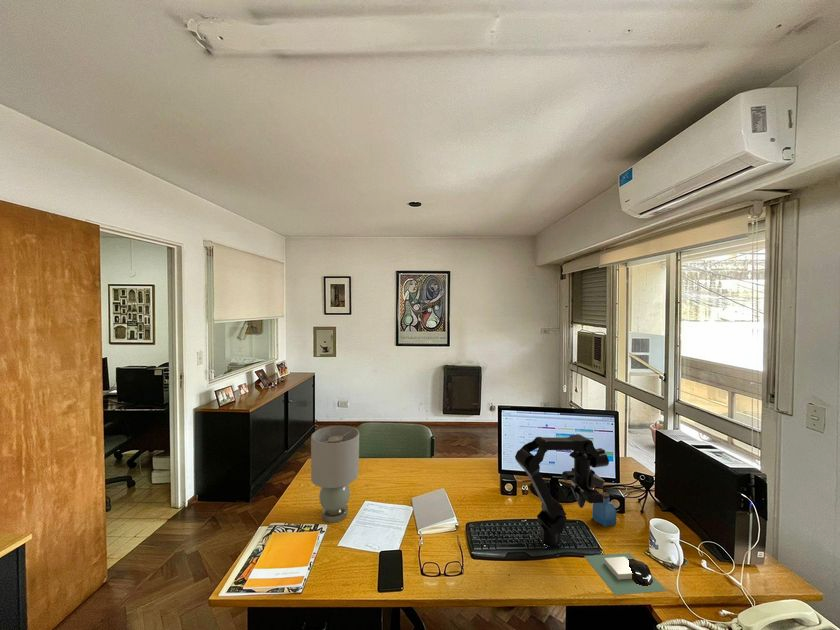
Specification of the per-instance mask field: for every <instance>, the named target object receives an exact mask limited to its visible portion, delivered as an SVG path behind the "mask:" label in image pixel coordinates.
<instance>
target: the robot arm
mask: <svg viewBox="0 0 840 630" xmlns="http://www.w3.org/2000/svg"><path fill="white" fill-rule="evenodd" d="M535 450H536V453H535V454H533V453H532V451H535ZM548 451H572V452H570V453H569V457H571V458H573V467H571V470H564V471H563V472H562V473H561V478H562V480H564V481H565V482H567V481H569V479H570V480H571V481H570V482H571V484H570V485H569V488H570V489H571V491H572V493H573V496H574V497H575V500H576V503H577V505H578V507H579V508H582V509H583V508H584V506H585V503H586V502H587V503H588V504H594V503H603V502H604V496H603V495H602V494H601V492H599V491H598V490H597V489H592V488H594V487H598V488H600V489H603V488H604V484H605V480H604V479H603V478H602V477H601V476H599V475H598V474H597V473H596V472H595V470H593V469H592V468H602V467H607V466H609V464H610V459H609V457H608V455H607V453H606V450H605V449H603V448H602V447H599V448H596V447H595V446H594V442H593V440H591V439H590V438H588V437H585V436H584V435H581V434H580V433H579V434H578V433H576V434H572V435H570V436H568V437H550V436H549V437H547V436H544V437H543V436H536V437H534V439H533V440H532V441H530V442H527V443H525V444H524V445H523V446H521V448H519V449H518V450H517V451H516V453H515V455H514V458H515V461H516V463H518V465H519V466H520V467H521V468H522V470H523V471H525V473H526V475H527V476H528V478H529V481H530V482H531V484H532V486H533V489H535V492H536V494H537V496H538V499H539V500H540V502H541V510H540V512H539V513H538V514H537V516H536V518H537V521H538V522H539V523H540V525H539V536H540V538H541V540H542V542H543V544H546V545H548V546H550V547H547V546H545V547H547V548H549V549H561V548H560V547H559V548H558V546H556V545H557V544H561V534H562V533H563V530H564V529H565V526H566V521H567V516H566V515H567V513H566V511H565V509H564V507H563V505H562V504H561V503H560V502H559V501H558V500H556V499H555V498H554V497H552V494H551V493H550V491H549V488H548V486H547V485H546V483H545V481H544V478H543V477H542V474H541V473H540V469H541V466H540V465H541V463H542V462H543V460H544V458H545V454H546V453H547V452H548Z"/></svg>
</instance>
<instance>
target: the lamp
mask: <svg viewBox="0 0 840 630" xmlns="http://www.w3.org/2000/svg"><path fill="white" fill-rule="evenodd" d="M310 438H311V439H310V452H311V453H310V462H311V463H310V471H311V472H310V481H311V482H312V484H313V485H315V486H316V487H319V488H320V491H319V496H318V497H319V503H320V505H321V507H322V508H321V519H322V520H323V522H325V523H328V524H336V523H338V522H342V521H343V520H345V519H346V517H347V516H348V511H349V510H348V508H349V507H348V502H349V500H350V497H351V488H350V485H349V484H351V483H353V482H354V481H356V479H358V478H359V471H360V470H359V466H360V431H359V430H358V429H357V428H355V427H354V426H353V427H352V426H348V425H332V426H325V427H322V428H320V429H319V428H318V429H317V430H316V431H314V432H313V433H312V434H311V437H310Z"/></svg>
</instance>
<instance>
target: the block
mask: <svg viewBox="0 0 840 630" xmlns="http://www.w3.org/2000/svg"><path fill="white" fill-rule="evenodd" d="M604 564H605V565H606V566H607V567H608V568H609V569H610V571H611V572H612V573H613V574H614V575H615V576H616V578H617V579H618V580H620V579H632V574H633V573H632V571H631V568H630V567H629V560H628V559H627V558H626V557H612V558H604Z"/></svg>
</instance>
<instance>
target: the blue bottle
mask: <svg viewBox="0 0 840 630" xmlns="http://www.w3.org/2000/svg"><path fill="white" fill-rule="evenodd" d="M600 494H602V495H603V496H604V502H603V503H592V519H593V520H594V521H595V522H597V524H600V525H601V526H602V527H604V528H605V527H610V526H614V525H615V526H616V525H617V509H616V507H615V506H614V504H613V502H611V501H610V494H609V493H608V492H605V491H601V492H600Z"/></svg>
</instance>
